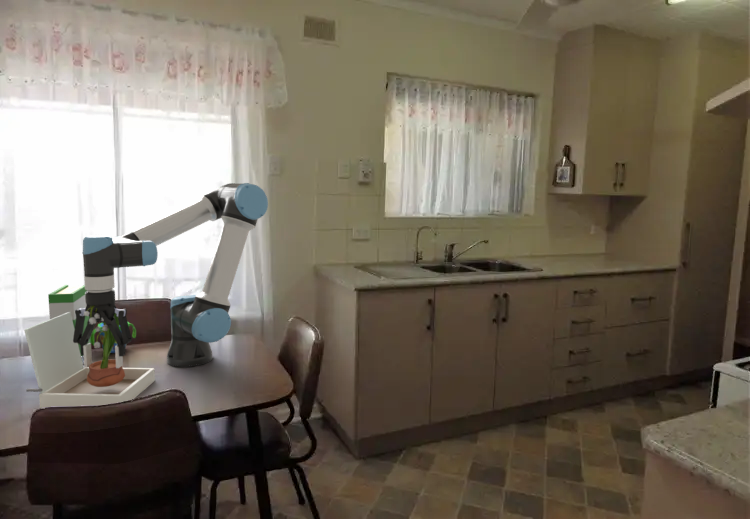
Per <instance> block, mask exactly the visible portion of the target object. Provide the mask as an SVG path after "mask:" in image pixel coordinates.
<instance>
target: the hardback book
mask: <svg viewBox="0 0 750 519" xmlns="http://www.w3.org/2000/svg"><path fill="white" fill-rule="evenodd" d="M86 291H87V290H85V284H84V285H82V286H69V284H64V285H63V286H61V287H59V288H57V289H56V290H54V291H51V292H50V293H48V309H49V310H48V311H49V320H50V319H52V318H55V317H57V316H60V315H62V314H65V313H67V312H71V317H72V321H73V325H74V329H75V323H76V314H75V310H77V309H80V308H83V309H84V308H86V300H85V292H86ZM88 320H89V316H85V321H84V328H83V333H84V331H85V328H86V326H87V322H88ZM82 336H83V335H82ZM88 343H91V336H90V338H89V342H88ZM88 343H87V344H88ZM78 346H79V350H80V354H81V346H80V344H78ZM81 356H82V355H81ZM82 357H83V356H82Z"/></svg>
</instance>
